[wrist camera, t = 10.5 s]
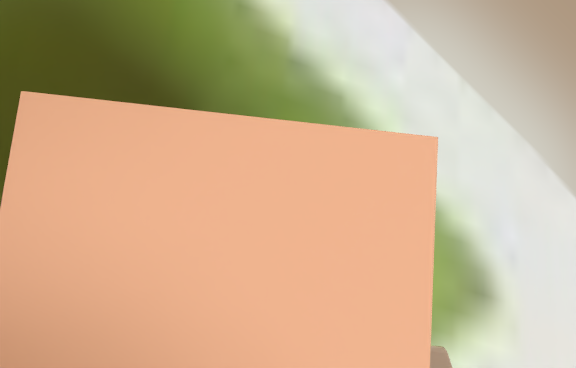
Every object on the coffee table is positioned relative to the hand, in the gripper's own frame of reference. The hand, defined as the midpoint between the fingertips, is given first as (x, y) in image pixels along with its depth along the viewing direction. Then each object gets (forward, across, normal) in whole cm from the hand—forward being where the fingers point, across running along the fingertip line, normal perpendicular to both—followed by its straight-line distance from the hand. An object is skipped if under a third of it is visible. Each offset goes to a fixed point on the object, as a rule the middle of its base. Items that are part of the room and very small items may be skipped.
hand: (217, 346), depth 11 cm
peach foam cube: (+4, 0, +3) cm, 5 cm away
